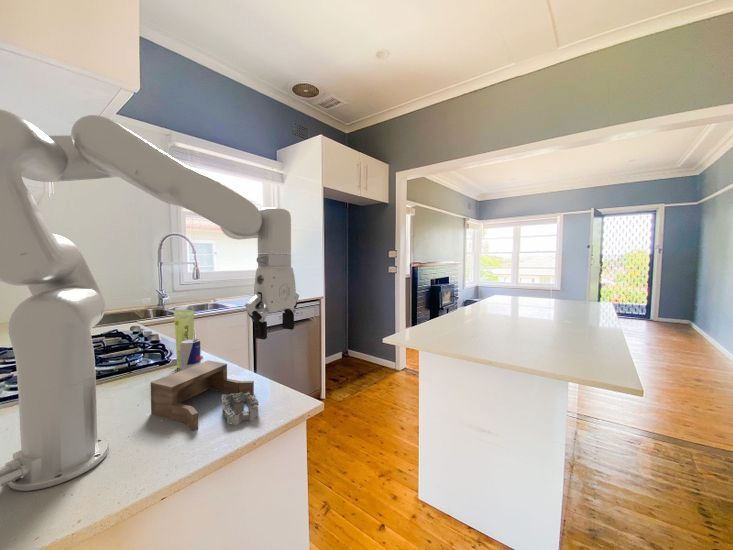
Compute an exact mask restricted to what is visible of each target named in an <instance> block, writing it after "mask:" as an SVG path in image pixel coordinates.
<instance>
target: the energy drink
mask: <svg viewBox="0 0 733 550" xmlns="http://www.w3.org/2000/svg"><path fill="white" fill-rule="evenodd" d="M201 359H202V358H201V340H200V339H199V338H194V339H186V340H182V341H181V343H180V368H179V369H180V370H179V371H182V370H184V369H187V368H189V367H192V366H195V365H197V364H200V363H202V361H201Z"/></svg>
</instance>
